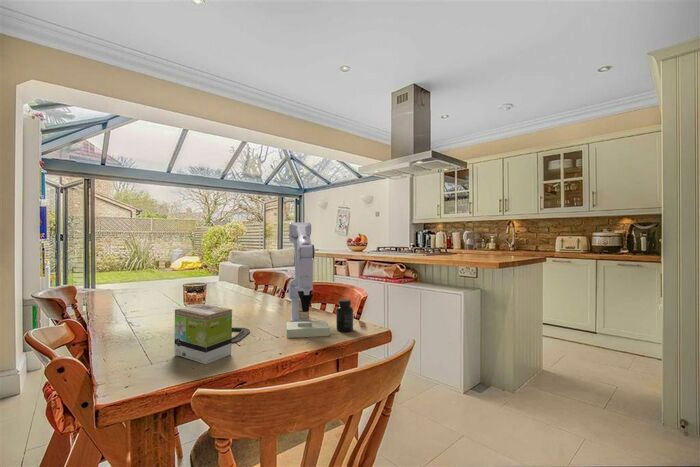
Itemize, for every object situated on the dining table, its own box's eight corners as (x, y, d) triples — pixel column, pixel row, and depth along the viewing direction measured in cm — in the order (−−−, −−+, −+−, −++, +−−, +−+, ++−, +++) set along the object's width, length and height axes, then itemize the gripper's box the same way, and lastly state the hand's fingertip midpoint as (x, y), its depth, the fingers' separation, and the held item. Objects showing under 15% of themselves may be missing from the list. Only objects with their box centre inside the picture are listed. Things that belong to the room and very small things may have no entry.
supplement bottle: (353, 328, 136) (354, 298, 136) (352, 332, 129) (352, 302, 129) (337, 327, 137) (337, 298, 137) (335, 332, 130) (335, 301, 130)
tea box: (172, 356, 102) (173, 308, 102) (200, 346, 111) (201, 302, 111) (205, 365, 95) (206, 314, 95) (232, 354, 104) (233, 307, 104)
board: (286, 329, 133) (286, 322, 133) (325, 327, 136) (326, 320, 136) (286, 337, 122) (286, 329, 122) (329, 335, 125) (329, 327, 125)
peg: (299, 317, 130) (298, 296, 130) (309, 316, 131) (308, 296, 131) (298, 319, 126) (297, 298, 126) (309, 319, 127) (308, 298, 127)
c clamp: (230, 349, 111) (230, 341, 111) (183, 346, 113) (183, 338, 113) (256, 332, 131) (256, 325, 131) (215, 329, 133) (215, 323, 133)
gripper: (294, 273, 135) (294, 306, 135) (295, 278, 121) (295, 315, 121) (311, 273, 137) (311, 306, 136) (315, 277, 122) (314, 314, 122)
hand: (305, 310), depth 129 cm, fingers closed on peg, 4 cm apart
